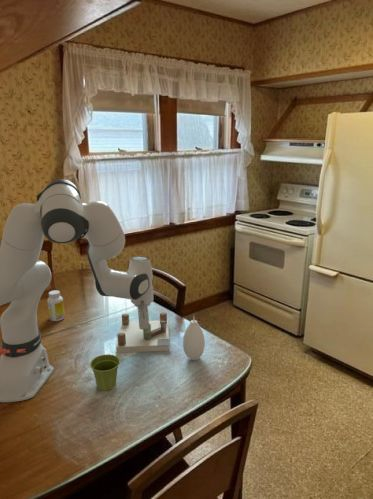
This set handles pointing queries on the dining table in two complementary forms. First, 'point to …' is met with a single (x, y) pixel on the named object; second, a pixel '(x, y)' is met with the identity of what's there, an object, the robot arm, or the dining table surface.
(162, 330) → the swing leg
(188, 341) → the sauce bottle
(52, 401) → the dining table surface
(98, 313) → the dining table surface
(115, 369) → the plant pot
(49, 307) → the supplement bottle
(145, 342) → the stool seat
